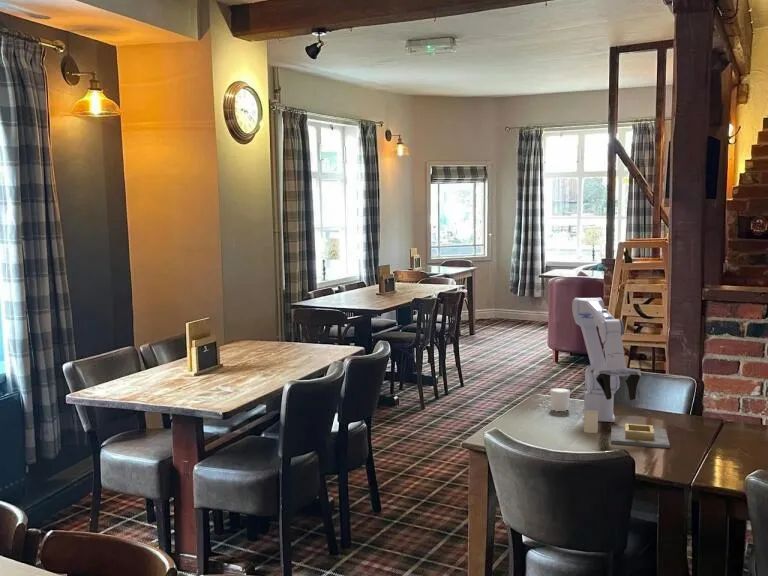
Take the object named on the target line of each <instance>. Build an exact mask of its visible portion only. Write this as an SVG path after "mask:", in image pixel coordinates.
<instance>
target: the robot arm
mask: <svg viewBox="0 0 768 576" xmlns="http://www.w3.org/2000/svg"><path fill="white" fill-rule="evenodd" d="M571 307H572V308H571V309H572V310H571V311H572V316H573V320H574V323H575V324H576V325H578V326H579V327H580V329H581V333H582V337H583V340H584V345H585V348H586V352H587V355H588V359H589V364H590V365H588V366H587V367H586V369H585V372H584V378H585V379H584V380H585V387H586V389H587V390H588V391H584V405H583V406H584V407H583V410H582V412H583V414H584V413H585V410H593V411H598V422H608V423H610V422H611V423H615V414H614V403H615V402H614V398H615V394H616V391H618V390H619V388H620V385H621V383H620V382H621V381H620V377H627V378H626V379H625V383H626V386H627V390H628V396H629V400H630V401H633V400H636V393H637V387H638V384H639V381H640V379H641V376H642V374H641V369H637V368H636V369H635V368H631V367H629V368H628V367H627V363H626V356H625V350H624V343H623V336H624V329H625V328H624V323H623V319H621V318H615V317H614V316H613V315H612V314H611V312H610V311H608V309H606V308H605V303H604V300H603V299H602V297H574V299H572V303H571ZM597 327H598V330H597ZM599 336H600V338H599ZM600 340H601V342H600ZM601 343H602V344H603V348H602V345H601ZM603 350H604V352H603Z"/></svg>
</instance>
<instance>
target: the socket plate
mask: <svg viewBox="0 0 768 576" xmlns="http://www.w3.org/2000/svg"><path fill="white" fill-rule="evenodd" d="M610 428H611V430H610V443H611V445H624V446H625V445H626V446H637V447H646V448H647V447H648V448H649V447H650V448H661V449H670V445H671V444H670V441H669V438H668V433H667V430H666V429H665V428H654V425H652V424H651V425H649V424H639V423H638V424H636V423H635V424H634V423H624V426H623V425H611V426H610Z"/></svg>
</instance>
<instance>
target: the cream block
mask: <svg viewBox="0 0 768 576" xmlns="http://www.w3.org/2000/svg"><path fill="white" fill-rule="evenodd" d="M583 420H584V421H583V422H584V425H583V432H584V433H588V434H589V433H591V434H598V433H599V421H598V411H593V410H585V413H583Z"/></svg>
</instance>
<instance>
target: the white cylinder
mask: <svg viewBox="0 0 768 576" xmlns="http://www.w3.org/2000/svg"><path fill="white" fill-rule="evenodd" d="M549 391H550V392H549V393H550V407H551V410H552V409H554V410H559V411H565V412H567V411H566V410H568V411H569V406H570V397H571V390H570V389H569V388H563V387H552V388H550V389H549Z"/></svg>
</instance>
